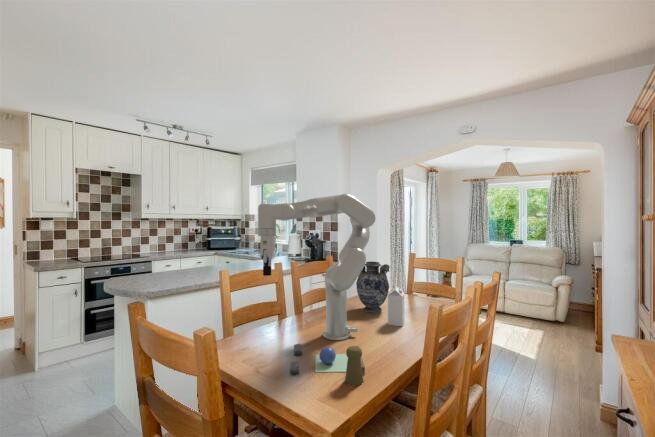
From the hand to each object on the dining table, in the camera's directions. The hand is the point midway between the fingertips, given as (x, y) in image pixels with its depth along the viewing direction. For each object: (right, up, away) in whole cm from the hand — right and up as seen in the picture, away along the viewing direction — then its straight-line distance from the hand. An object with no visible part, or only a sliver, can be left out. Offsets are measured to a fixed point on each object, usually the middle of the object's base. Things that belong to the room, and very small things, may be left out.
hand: (267, 275), depth 133 cm
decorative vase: (+52, -29, +48) cm, 77 cm away
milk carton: (+61, -29, +24) cm, 71 cm away
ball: (+26, -26, -19) cm, 41 cm away
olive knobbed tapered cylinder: (+35, -29, -32) cm, 55 cm away
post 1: (+14, -29, -11) cm, 34 cm away
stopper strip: (+37, -29, -18) cm, 51 cm away
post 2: (+14, -29, -26) cm, 42 cm away
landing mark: (+28, -29, -19) cm, 45 cm away
